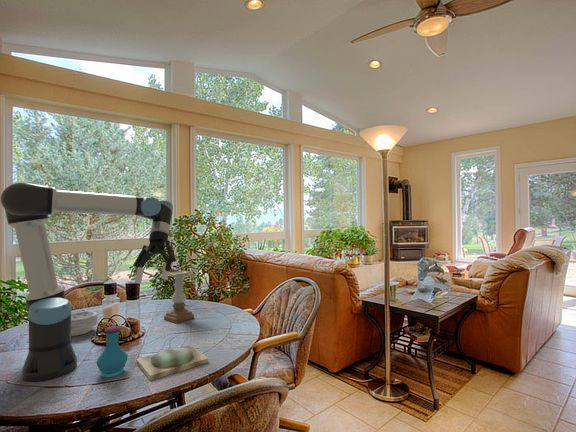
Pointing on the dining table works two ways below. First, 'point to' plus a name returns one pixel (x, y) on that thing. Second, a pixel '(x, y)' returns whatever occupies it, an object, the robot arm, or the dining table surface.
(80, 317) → the paper bowls
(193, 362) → the birch stand
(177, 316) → the candle holder
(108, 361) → the perfume bottle
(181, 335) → the dining table surface
